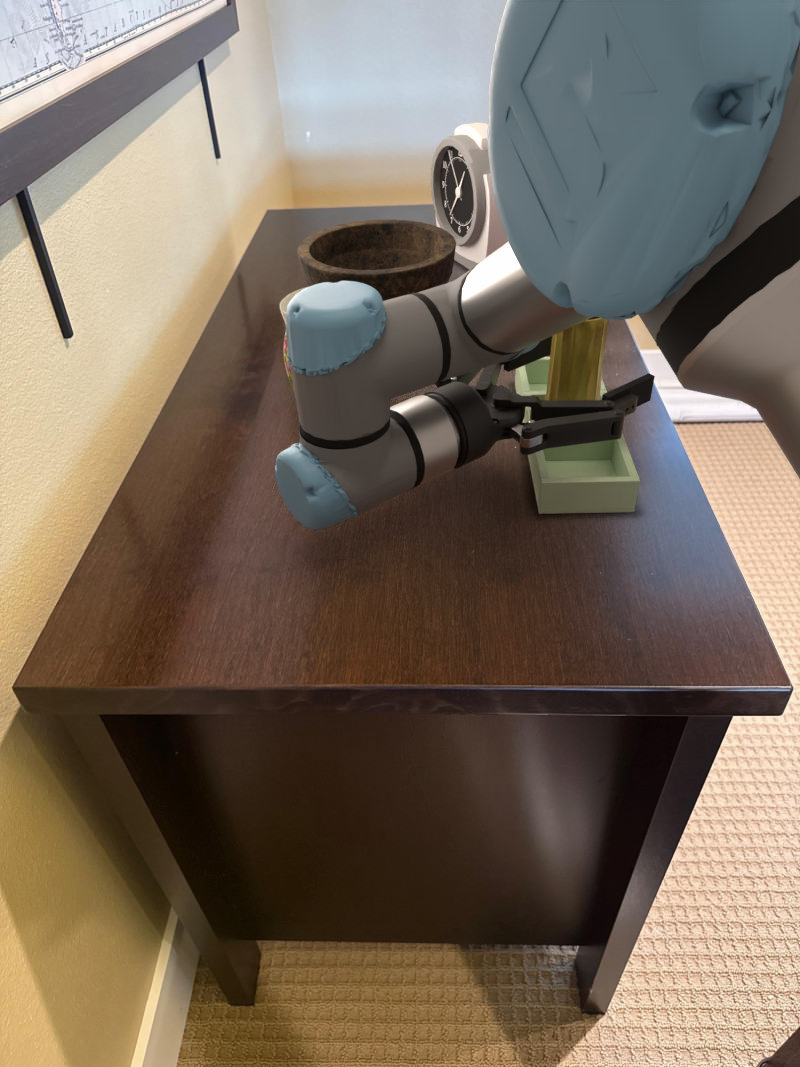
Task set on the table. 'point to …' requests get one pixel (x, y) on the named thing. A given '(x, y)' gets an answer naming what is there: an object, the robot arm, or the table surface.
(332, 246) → the bowl
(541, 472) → the tray
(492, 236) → the alarm clock
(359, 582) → the table surface
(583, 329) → the vase
